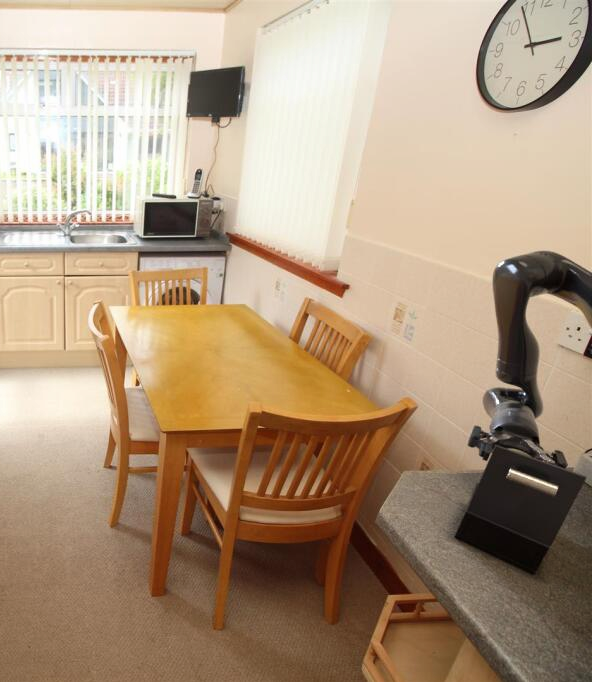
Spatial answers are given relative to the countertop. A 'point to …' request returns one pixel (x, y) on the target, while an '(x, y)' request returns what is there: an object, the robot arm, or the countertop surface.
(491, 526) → the box
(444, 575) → the countertop surface
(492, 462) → the warmer lid
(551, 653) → the countertop surface
